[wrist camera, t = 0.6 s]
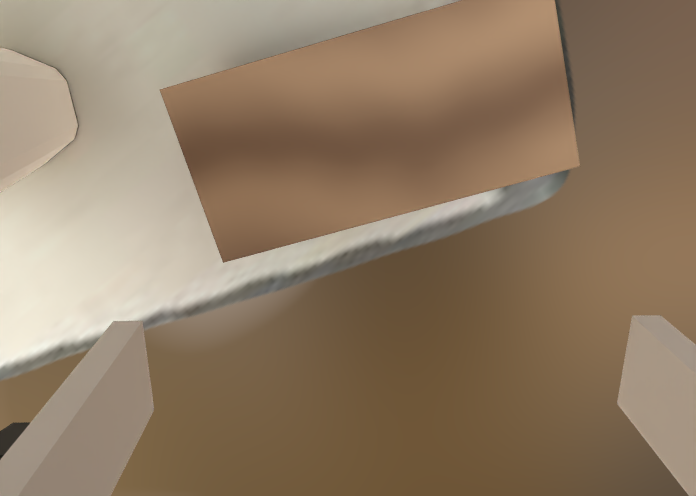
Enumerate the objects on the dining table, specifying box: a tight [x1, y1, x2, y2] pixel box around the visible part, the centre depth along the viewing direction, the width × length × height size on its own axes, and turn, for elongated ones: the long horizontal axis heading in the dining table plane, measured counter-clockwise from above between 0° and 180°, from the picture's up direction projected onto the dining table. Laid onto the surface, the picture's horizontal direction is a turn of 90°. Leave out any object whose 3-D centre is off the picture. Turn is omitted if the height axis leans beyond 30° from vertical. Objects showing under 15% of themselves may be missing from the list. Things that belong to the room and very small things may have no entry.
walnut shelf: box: [160, 0, 580, 263], centre depth 32 cm, size 8×17×13 cm, turn 105°
